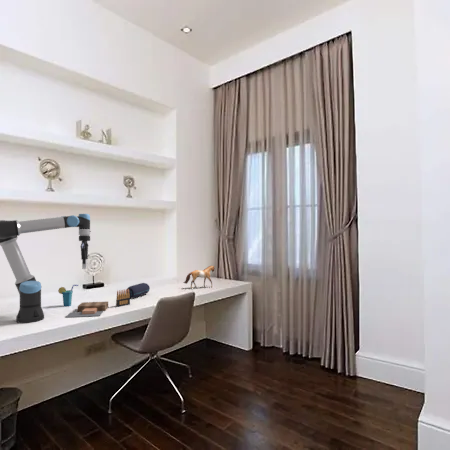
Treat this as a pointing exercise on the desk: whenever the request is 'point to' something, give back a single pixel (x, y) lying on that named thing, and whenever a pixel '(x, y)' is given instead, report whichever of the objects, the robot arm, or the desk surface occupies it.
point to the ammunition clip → (122, 298)
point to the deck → (93, 306)
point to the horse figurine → (200, 275)
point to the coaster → (89, 311)
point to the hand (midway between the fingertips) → (84, 268)
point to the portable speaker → (138, 290)
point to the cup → (66, 295)
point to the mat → (79, 314)
